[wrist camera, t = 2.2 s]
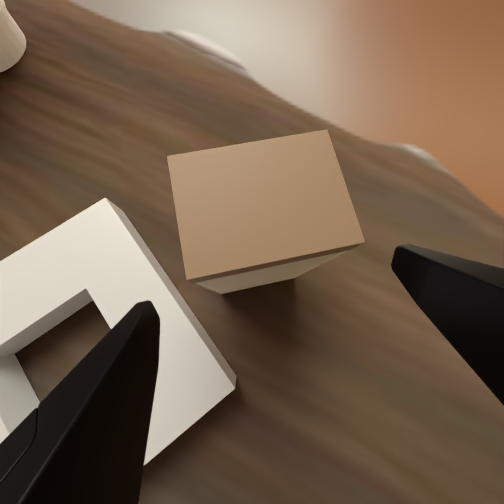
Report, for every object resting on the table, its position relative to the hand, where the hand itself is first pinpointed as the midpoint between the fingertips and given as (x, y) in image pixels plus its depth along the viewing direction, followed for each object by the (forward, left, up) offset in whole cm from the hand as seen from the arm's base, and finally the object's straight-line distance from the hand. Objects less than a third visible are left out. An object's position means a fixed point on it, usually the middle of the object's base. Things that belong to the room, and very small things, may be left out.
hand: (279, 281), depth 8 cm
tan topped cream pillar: (+2, -1, -10) cm, 10 cm away
